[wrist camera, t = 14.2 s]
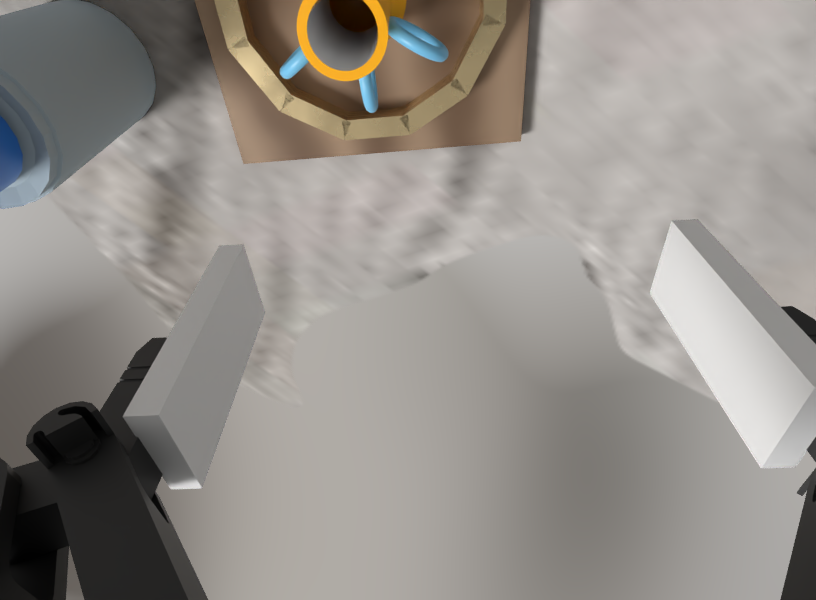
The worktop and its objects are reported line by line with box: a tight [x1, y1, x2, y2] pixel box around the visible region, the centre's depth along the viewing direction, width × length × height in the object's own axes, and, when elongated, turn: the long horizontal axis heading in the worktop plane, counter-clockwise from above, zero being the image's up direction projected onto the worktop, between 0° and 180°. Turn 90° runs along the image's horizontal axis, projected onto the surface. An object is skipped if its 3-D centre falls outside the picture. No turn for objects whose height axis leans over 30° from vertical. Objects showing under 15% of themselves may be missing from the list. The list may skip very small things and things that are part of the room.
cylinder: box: [280, 0, 449, 113], centre depth 27 cm, size 12×10×15 cm
